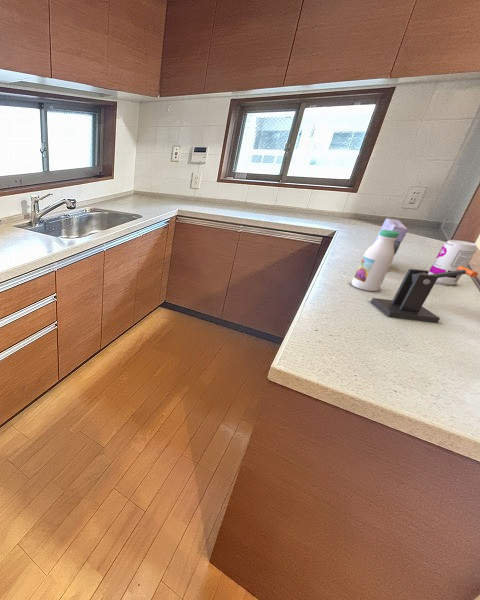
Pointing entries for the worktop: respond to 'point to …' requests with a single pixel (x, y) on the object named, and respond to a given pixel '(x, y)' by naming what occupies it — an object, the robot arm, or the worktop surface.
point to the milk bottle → (376, 262)
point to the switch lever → (451, 273)
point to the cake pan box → (394, 226)
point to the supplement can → (452, 259)
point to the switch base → (410, 298)
